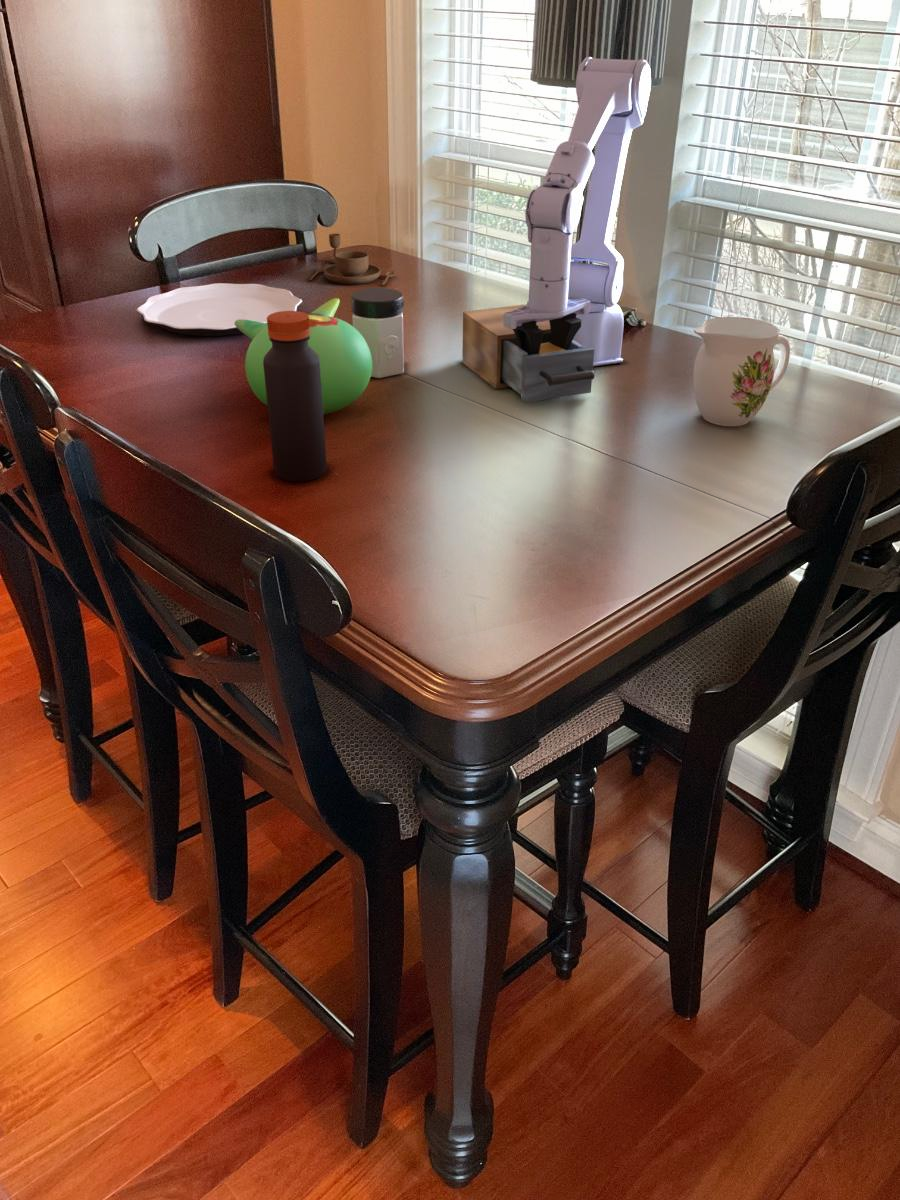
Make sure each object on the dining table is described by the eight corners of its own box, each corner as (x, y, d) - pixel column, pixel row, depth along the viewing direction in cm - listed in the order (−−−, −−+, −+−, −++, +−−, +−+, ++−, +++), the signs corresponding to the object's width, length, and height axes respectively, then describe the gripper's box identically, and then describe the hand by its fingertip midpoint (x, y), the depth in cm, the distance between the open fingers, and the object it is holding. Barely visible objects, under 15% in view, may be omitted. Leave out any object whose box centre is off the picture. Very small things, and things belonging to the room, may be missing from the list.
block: (564, 378, 148) (566, 349, 146) (540, 383, 146) (542, 355, 144) (546, 369, 152) (548, 342, 149) (523, 375, 150) (524, 346, 147)
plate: (333, 310, 186) (332, 297, 185) (225, 352, 165) (223, 338, 164) (219, 287, 199) (218, 275, 198) (106, 323, 178) (103, 310, 177)
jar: (367, 382, 154) (364, 305, 147) (343, 367, 159) (339, 292, 153) (416, 371, 158) (415, 296, 151) (390, 357, 164) (388, 284, 157)
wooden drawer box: (566, 378, 155) (570, 326, 151) (495, 389, 151) (497, 335, 147) (529, 353, 166) (531, 303, 161) (462, 362, 162) (462, 311, 157)
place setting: (303, 283, 202) (301, 254, 199) (329, 260, 219) (327, 233, 216) (386, 287, 200) (385, 258, 197) (405, 264, 216) (405, 236, 213)
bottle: (264, 478, 124) (247, 321, 113) (290, 457, 130) (276, 305, 119) (312, 486, 122) (299, 328, 111) (336, 465, 127) (326, 311, 117)
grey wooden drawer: (604, 401, 145) (608, 357, 141) (536, 412, 141) (539, 367, 137) (553, 366, 157) (555, 325, 154) (489, 375, 154) (490, 333, 150)
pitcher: (804, 418, 142) (824, 324, 134) (707, 441, 135) (723, 342, 127) (752, 394, 150) (768, 304, 143) (658, 414, 143) (670, 320, 135)
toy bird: (266, 440, 134) (255, 334, 126) (237, 399, 147) (226, 301, 139) (389, 421, 140) (385, 319, 132) (351, 383, 153) (346, 288, 145)
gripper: (571, 263, 147) (565, 352, 154) (492, 277, 140) (489, 368, 148) (602, 274, 142) (594, 364, 149) (521, 288, 135) (517, 382, 143)
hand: (544, 367), depth 148 cm, fingers closed on block, 4 cm apart
